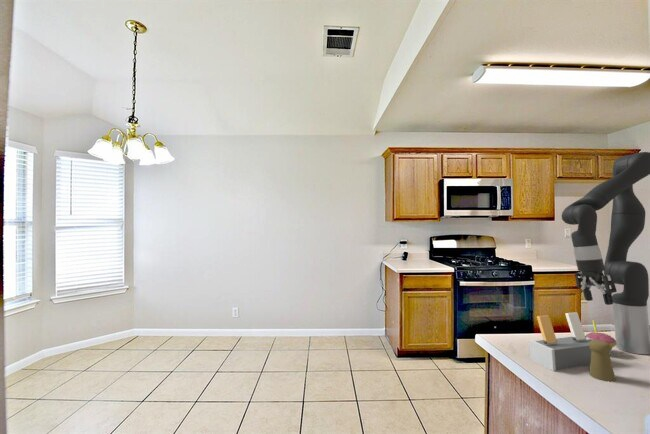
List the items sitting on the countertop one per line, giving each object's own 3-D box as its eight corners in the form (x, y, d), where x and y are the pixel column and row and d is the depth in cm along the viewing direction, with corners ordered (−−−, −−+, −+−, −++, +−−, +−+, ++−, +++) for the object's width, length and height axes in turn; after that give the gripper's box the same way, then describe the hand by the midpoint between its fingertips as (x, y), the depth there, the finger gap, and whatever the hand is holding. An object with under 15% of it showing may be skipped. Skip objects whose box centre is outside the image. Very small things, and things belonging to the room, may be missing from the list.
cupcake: (580, 350, 112) (578, 318, 113) (595, 346, 115) (592, 315, 115) (608, 359, 104) (605, 324, 105) (623, 355, 107) (620, 321, 107)
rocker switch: (583, 339, 106) (574, 312, 108) (586, 339, 105) (577, 312, 107) (573, 340, 105) (564, 313, 108) (576, 340, 104) (567, 313, 107)
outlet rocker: (554, 342, 104) (546, 315, 107) (557, 342, 103) (549, 315, 105) (544, 343, 103) (536, 316, 106) (546, 344, 102) (538, 316, 105)
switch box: (579, 353, 110) (577, 334, 110) (606, 363, 101) (604, 343, 101) (530, 359, 106) (528, 340, 107) (553, 371, 97) (551, 349, 98)
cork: (621, 382, 89) (617, 345, 90) (598, 381, 90) (594, 344, 91) (606, 372, 95) (603, 338, 96) (584, 371, 96) (582, 337, 97)
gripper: (616, 257, 102) (628, 304, 100) (583, 256, 116) (593, 298, 114) (594, 259, 103) (605, 307, 101) (563, 258, 117) (573, 300, 115)
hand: (598, 302), depth 107 cm, fingers open, 8 cm apart
